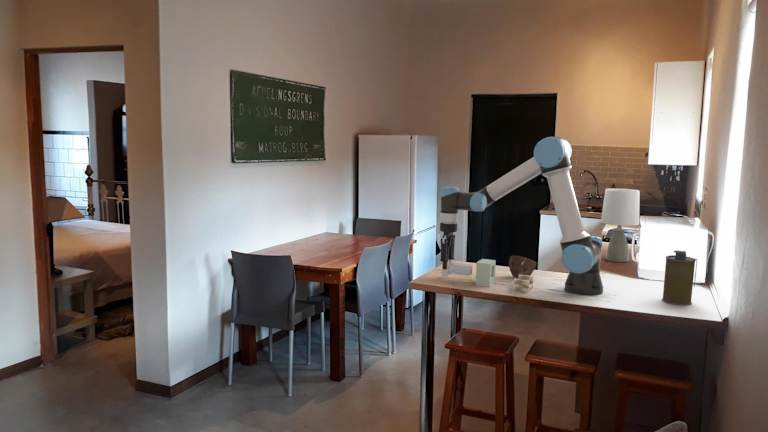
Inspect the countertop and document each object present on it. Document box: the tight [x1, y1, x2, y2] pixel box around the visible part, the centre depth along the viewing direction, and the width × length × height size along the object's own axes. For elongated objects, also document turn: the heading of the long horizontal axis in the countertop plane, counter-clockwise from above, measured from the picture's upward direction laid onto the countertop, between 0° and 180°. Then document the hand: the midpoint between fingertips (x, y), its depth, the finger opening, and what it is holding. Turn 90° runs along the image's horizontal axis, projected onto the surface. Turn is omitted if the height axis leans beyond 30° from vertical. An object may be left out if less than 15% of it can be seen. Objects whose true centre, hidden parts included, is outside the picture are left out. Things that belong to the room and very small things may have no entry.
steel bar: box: [448, 262, 473, 277], centre depth 259 cm, size 12×4×4 cm, turn 66°
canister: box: [661, 250, 698, 306], centre depth 231 cm, size 11×10×20 cm
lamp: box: [600, 187, 641, 263], centre depth 309 cm, size 19×19×37 cm
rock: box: [507, 255, 538, 279], centre depth 265 cm, size 12×10×10 cm
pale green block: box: [475, 258, 497, 288], centre depth 254 cm, size 6×9×10 cm, turn 156°
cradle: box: [513, 274, 534, 293], centre depth 247 cm, size 6×11×4 cm, turn 156°
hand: (446, 275), depth 261 cm, fingers closed on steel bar, 4 cm apart
